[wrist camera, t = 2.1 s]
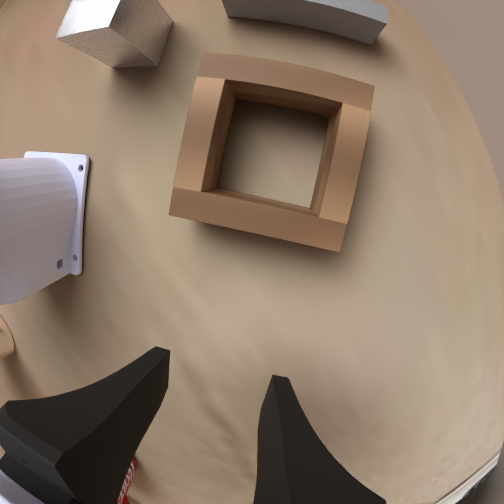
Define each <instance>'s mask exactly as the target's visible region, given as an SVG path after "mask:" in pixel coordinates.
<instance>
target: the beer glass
mask: <svg viewBox="0 0 504 504" xmlns="http://www.w3.org/2000/svg"><path fill="white" fill-rule="evenodd" d="M14 349H15V346H14V340H13V337H12V335H11V332H10V330H9V328H8V326H7V325H6V323H5V322H4V320H3V319H2V318H1V316H0V359H2V358H4V357H6V356H8V355H10V354H12V353H13V352H14Z"/></svg>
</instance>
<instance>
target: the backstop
mask: <svg viewBox="0 0 504 504" xmlns="http://www.w3.org/2000/svg"><path fill="white" fill-rule="evenodd" d="M222 2H223V5H224V8H225V10H226V13H227V16H228V17H240V18H251V19H260V20H267V21H274V22H281V23H287V24H292V25H297V26H302V27H307V28H312V29H316V30H320V31H325V32H328V33H332V34H336V35H340V36H343V37H347V38H350V39H353V40H357V41H360V42H363V43H366V44H369V45H371V44H372V43H373V41H374V40H375V39H376V37H377V36H378V35H379V33H380V32H381V31H382V30H383V28H384V27H385V26H386V24H387V10H388V7H385V6H383V5H380V4H377V3H374V2H371V1H368V0H222Z"/></svg>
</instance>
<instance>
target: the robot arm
mask: <svg viewBox="0 0 504 504" xmlns="http://www.w3.org/2000/svg"><path fill="white" fill-rule="evenodd" d="M82 165H83V170H81V167H82ZM88 167H89V157H88V156H87V155H80V154H67V153H51V152H26V153H25V155H24V158H13V159H0V305H3V304H10V303H15V302H18V301H21V300H24V299H26V298H28V297H29V296H31V295H33V294H34V293H36V292H38V291H40V290H41V289H43V288H45V287H46V286H48V285H50V284H52V283H53V282H55V281H57V280H59V279H61V278H62V277H64V276H66V275H68V274H70V273H71V274H74V275H79V274H80V273H81V272H82V233H83V215H84V202H85V192H86V183H87V174H88ZM75 255H76V256H77V259H76V257H75ZM169 361H170V350H167V349H163V348H160V347H157V346H156V347H154V348H152V349H151V350H149V351H148V352H147V353H145V354H144V355H142V356H141V357H139V358H138V359H136V360H135V361H133V362H132V363H130V364H128V365H127V366H125V367H124V368H122V369H120V370H119V371H117V372H115V373H113V374H111V375H109V376H108V377H106V378H104V379H102V380H100V381H98V382H95V383H93V384H91V385H88V386H86V387H83V388H81V389H78V390H74V391H71V392H68V393H64V394H61V395H56V396H52V397H46V398H40V399H32V400H15V401H7V402H6V403H5V404H4V405H3V406H2V407H1V408H0V445H1V446H2V448H3V449H4V450H5V452H6V453H5V454H4V456H3V457H2V458H1V459H0V504H117V502H118V499H119V495H120V492H121V489H122V486H123V483H124V481H125V478H126V475H127V472H128V470H129V467H130V465H131V462H132V459H133V457H134V454H135V452H136V450H137V448H138V446H139V444H140V442H141V440H142V438H143V436H144V435H145V433H146V431H147V429H148V428H149V426H150V424H151V422H152V420H153V419H154V417H155V415H156V413H157V411H158V410H159V408H160V406H161V403H162V401H163V398H164V396H165V393H166V391H167V388H168V379H169ZM253 504H386V501H385V499H383V498H382V497H380V496H378V495H377V494H375V493H374V492H372V491H371V490H370V489H368V488H367V487H365V486H364V485H363V484H361V483H360V482H359V481H358V480H357V479H355V478H354V477H353V476H352V475H351V474H350V473H349V472H348V471H347V470H346V469H345V468H344V467H343V466H342V465H341V464H340V463H339V462H338V461H337V460H336V459H335V458H334V457H333V456H332V454H331V453H330V452H329V451H328V450H327V448H326V447H325V446H324V444H323V443H322V442H321V440H320V439H319V437H318V436H317V434H316V433H315V431H314V430H313V428H312V426H311V425H310V423H309V421H308V419H307V418H306V416H305V414H304V412H303V410H302V408H301V406H300V404H299V402H298V400H297V397H296V395H295V393H294V390H293V388H292V385H291V383H290V380H289V379H288V377H282V376H276V375H272V378H271V381H270V384H269V387H268V390H267V393H266V396H265V399H264V401H263V404H262V407H261V412H260V419H259V426H258V455H257V482H256V489H255V496H254V502H253Z"/></svg>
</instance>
